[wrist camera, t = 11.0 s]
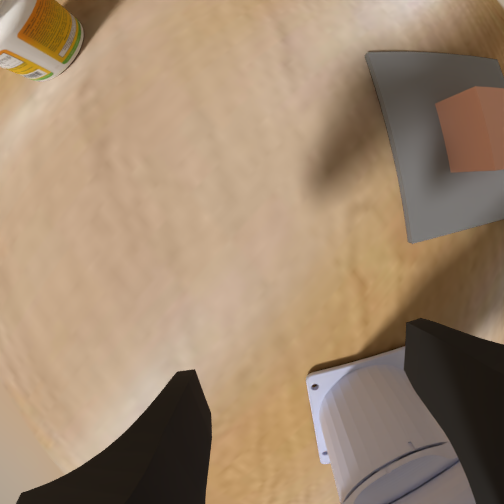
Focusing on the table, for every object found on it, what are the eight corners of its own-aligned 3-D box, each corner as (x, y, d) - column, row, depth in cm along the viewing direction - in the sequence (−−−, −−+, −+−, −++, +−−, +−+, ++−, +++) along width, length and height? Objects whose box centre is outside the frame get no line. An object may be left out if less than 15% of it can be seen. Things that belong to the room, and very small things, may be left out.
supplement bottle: (74, 7, 15) (5, -54, 5) (95, 48, 16) (12, -17, 6) (22, 52, 16) (-59, 14, 6) (37, 97, 16) (-60, 65, 7)
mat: (525, 210, 17) (530, 211, 17) (407, 242, 18) (412, 243, 17) (492, 61, 15) (497, 59, 15) (364, 55, 16) (367, 52, 15)
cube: (495, 166, 16) (539, 164, 12) (450, 172, 17) (495, 170, 12) (481, 103, 16) (522, 90, 11) (434, 103, 16) (475, 86, 11)
